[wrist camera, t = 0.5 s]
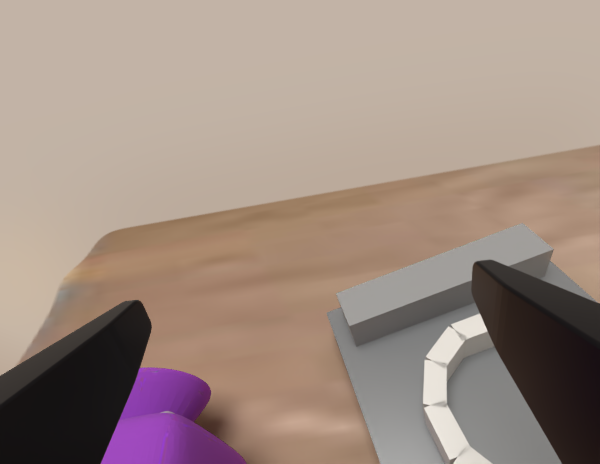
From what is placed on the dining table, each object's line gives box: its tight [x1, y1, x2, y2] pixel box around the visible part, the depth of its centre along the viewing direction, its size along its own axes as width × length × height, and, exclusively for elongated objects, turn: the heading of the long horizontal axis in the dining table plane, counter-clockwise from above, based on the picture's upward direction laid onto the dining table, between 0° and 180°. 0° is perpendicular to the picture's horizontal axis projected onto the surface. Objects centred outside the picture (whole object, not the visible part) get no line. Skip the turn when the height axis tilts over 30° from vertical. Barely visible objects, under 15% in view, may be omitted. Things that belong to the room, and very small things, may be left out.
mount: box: [327, 223, 598, 464], centre depth 16 cm, size 18×14×5 cm
